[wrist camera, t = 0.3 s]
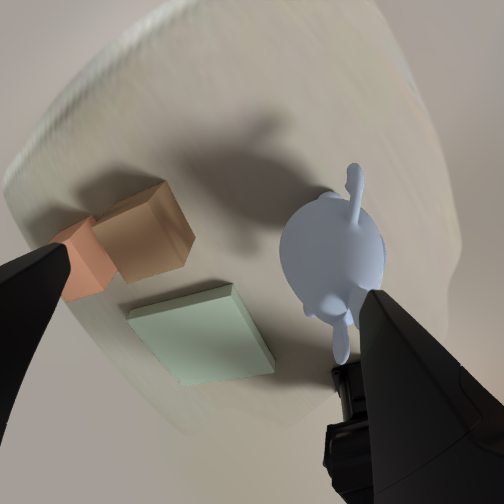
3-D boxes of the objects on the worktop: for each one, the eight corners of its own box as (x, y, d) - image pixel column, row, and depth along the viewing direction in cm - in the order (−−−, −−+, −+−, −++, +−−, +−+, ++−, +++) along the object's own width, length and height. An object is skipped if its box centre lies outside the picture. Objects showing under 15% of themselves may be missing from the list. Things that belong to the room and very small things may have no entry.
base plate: (275, 361, 31) (274, 372, 30) (184, 375, 34) (182, 385, 33) (232, 283, 26) (230, 295, 25) (130, 309, 29) (125, 320, 27)
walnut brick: (195, 236, 24) (183, 266, 20) (144, 254, 25) (127, 283, 22) (166, 179, 21) (147, 202, 18) (114, 203, 23) (90, 227, 19)
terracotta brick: (122, 261, 26) (104, 290, 22) (86, 275, 27) (67, 302, 24) (93, 214, 23) (68, 238, 20) (58, 232, 24) (34, 256, 21)
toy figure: (339, 279, 25) (367, 408, 15) (265, 266, 25) (258, 401, 15) (382, 156, 19) (476, 251, 9) (295, 134, 19) (322, 214, 9)
